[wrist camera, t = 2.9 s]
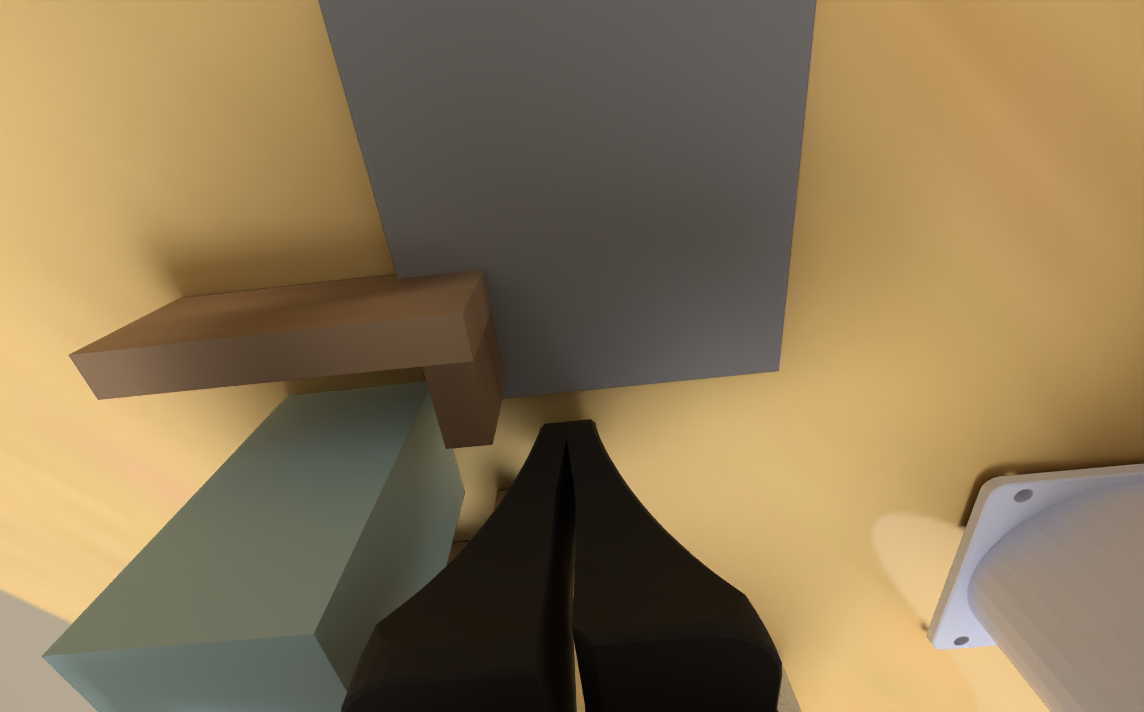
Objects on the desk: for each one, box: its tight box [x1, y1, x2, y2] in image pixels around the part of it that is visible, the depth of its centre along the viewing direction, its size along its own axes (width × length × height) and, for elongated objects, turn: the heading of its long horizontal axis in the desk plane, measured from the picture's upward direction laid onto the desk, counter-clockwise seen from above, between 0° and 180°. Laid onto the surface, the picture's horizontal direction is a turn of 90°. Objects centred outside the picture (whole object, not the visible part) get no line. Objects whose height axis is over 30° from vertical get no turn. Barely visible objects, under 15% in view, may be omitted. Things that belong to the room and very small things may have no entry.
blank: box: [42, 381, 465, 712], centre depth 11 cm, size 4×4×7 cm
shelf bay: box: [69, 269, 508, 566], centre depth 13 cm, size 8×10×3 cm
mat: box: [318, 0, 816, 399], centre depth 11 cm, size 9×9×1 cm
